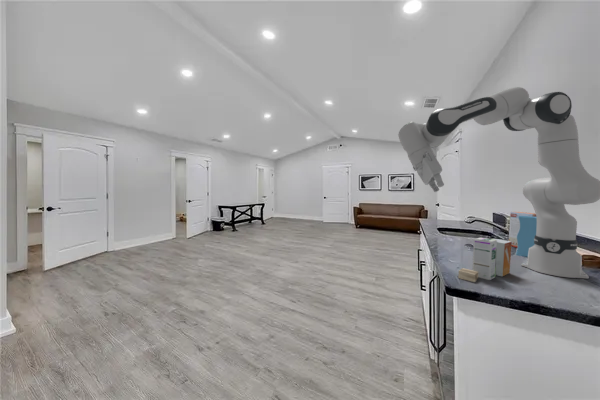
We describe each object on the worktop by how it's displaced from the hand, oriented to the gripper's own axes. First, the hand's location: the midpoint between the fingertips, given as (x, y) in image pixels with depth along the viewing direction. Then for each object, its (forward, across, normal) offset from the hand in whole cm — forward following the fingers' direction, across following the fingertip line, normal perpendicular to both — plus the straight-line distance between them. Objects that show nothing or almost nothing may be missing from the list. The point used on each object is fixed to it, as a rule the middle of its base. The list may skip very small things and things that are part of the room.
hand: (439, 189), depth 92 cm
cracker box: (+42, +73, -41) cm, 93 cm away
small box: (+38, +16, -7) cm, 42 cm away
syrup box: (+36, +8, -1) cm, 37 cm away
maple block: (+34, +4, +5) cm, 35 cm away
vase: (+42, +55, -34) cm, 77 cm away
